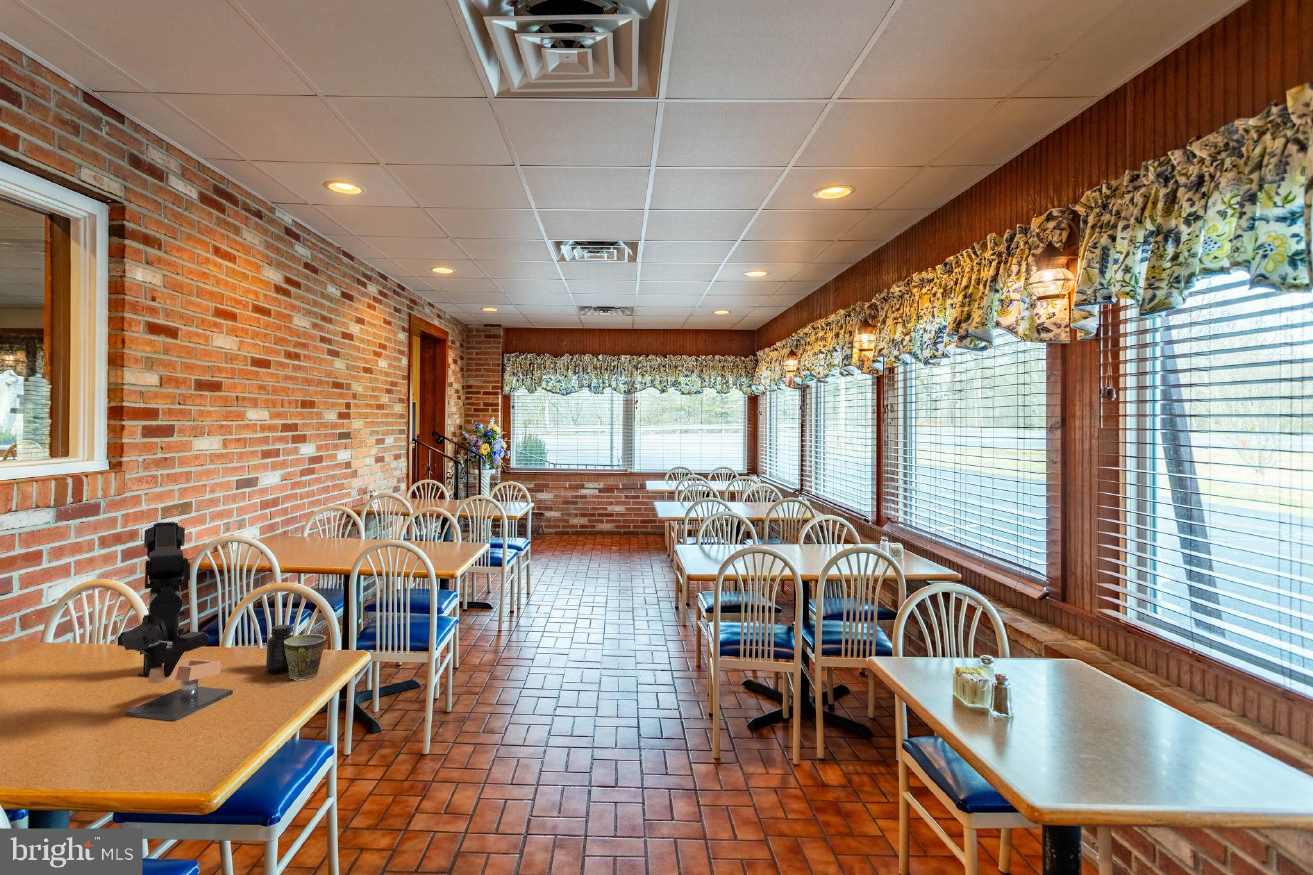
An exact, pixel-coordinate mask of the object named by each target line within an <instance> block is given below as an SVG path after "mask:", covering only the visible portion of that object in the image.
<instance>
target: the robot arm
mask: <svg viewBox="0 0 1313 875" xmlns="http://www.w3.org/2000/svg"><path fill="white" fill-rule="evenodd" d="M143 533H144V534H143V535H144V536H143V538H144V539H143V549H146V558H148V559H149V560H145V566H144V567H145V568H144V573H145V574H144V589H145V590H146V589H147V590H148V589H149V597H148V600H149V601H148V614H144V615H143V617H142V622H141V624H139V625H137V626H134V627H133V628H131V629H128V630H125V631H122V632H121V633H120V634H119V635H118V636H117V640H116V642H117V644H116V645H117V646H118V647H119V646H120V647H124V649H125V650H126V651H129V650H130V651H136V652H139V655H143V669H142V671H141V672H138V673H137V676H139V677H148V678H149V674H150V669H152V668H158V667H162V664H163V663H164V675H165V677H169V676H170V675H171V673H172V672H173V670H174V668H175V666H176V665H177V663H178V661H180V659H181V658H182V656H183V655H184V653H187V652H190V651H194V650H197V649H199V648H202V647H204V646H208V645H209V637H210V636H209V634H207V633H206V632H200V631H190V632H188V633H185V634H184V632H185V630H184V627H180V617H181V616H184V615H185V610H182V607H183V599H182V598H183V597H182V595H181V590H182V587H181V586H187V585H188V581H190V580H191V562H190V561H189V559H188V558H187V557H184V551H183V549H181V548H182V547H184V546H185V543H186V542H185V537H186V528H185V527H183V526H180V525H179V523H178V522H175V521H167V522H165V521H163V522H156V523H153V526H151V527H149V528H146V529H144V532H143Z"/></svg>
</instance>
